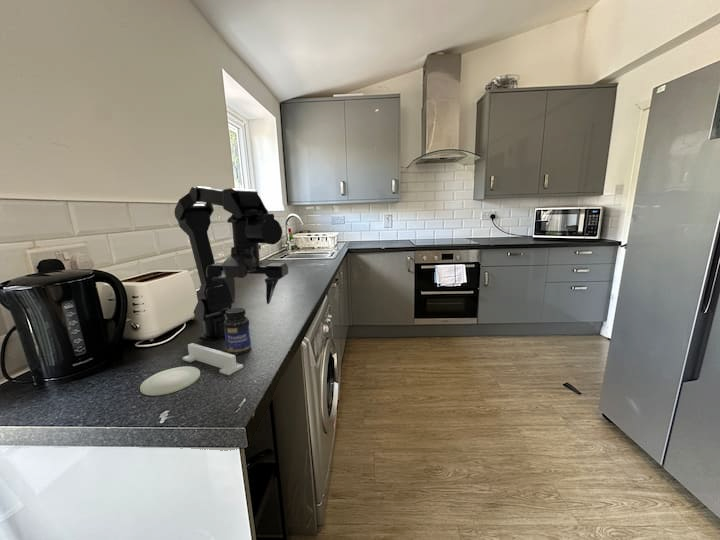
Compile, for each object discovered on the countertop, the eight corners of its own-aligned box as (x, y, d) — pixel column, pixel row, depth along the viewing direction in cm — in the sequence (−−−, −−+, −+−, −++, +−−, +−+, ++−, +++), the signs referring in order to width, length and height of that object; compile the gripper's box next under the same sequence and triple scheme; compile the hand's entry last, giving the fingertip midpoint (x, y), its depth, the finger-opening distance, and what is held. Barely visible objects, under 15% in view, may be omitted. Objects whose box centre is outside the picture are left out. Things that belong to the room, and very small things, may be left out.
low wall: (182, 359, 74) (180, 346, 73) (197, 353, 78) (196, 340, 77) (228, 375, 66) (227, 360, 65) (243, 367, 70) (241, 353, 69)
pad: (129, 387, 62) (129, 385, 62) (181, 364, 72) (181, 362, 72) (159, 401, 57) (158, 399, 57) (210, 374, 67) (210, 372, 67)
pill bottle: (227, 357, 75) (222, 315, 73) (225, 348, 80) (221, 309, 78) (253, 352, 77) (249, 311, 75) (250, 343, 83) (246, 305, 81)
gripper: (188, 245, 65) (196, 313, 68) (272, 245, 64) (276, 314, 67) (215, 240, 76) (221, 299, 79) (287, 240, 75) (290, 300, 78)
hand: (250, 303), depth 76 cm, fingers open, 9 cm apart
